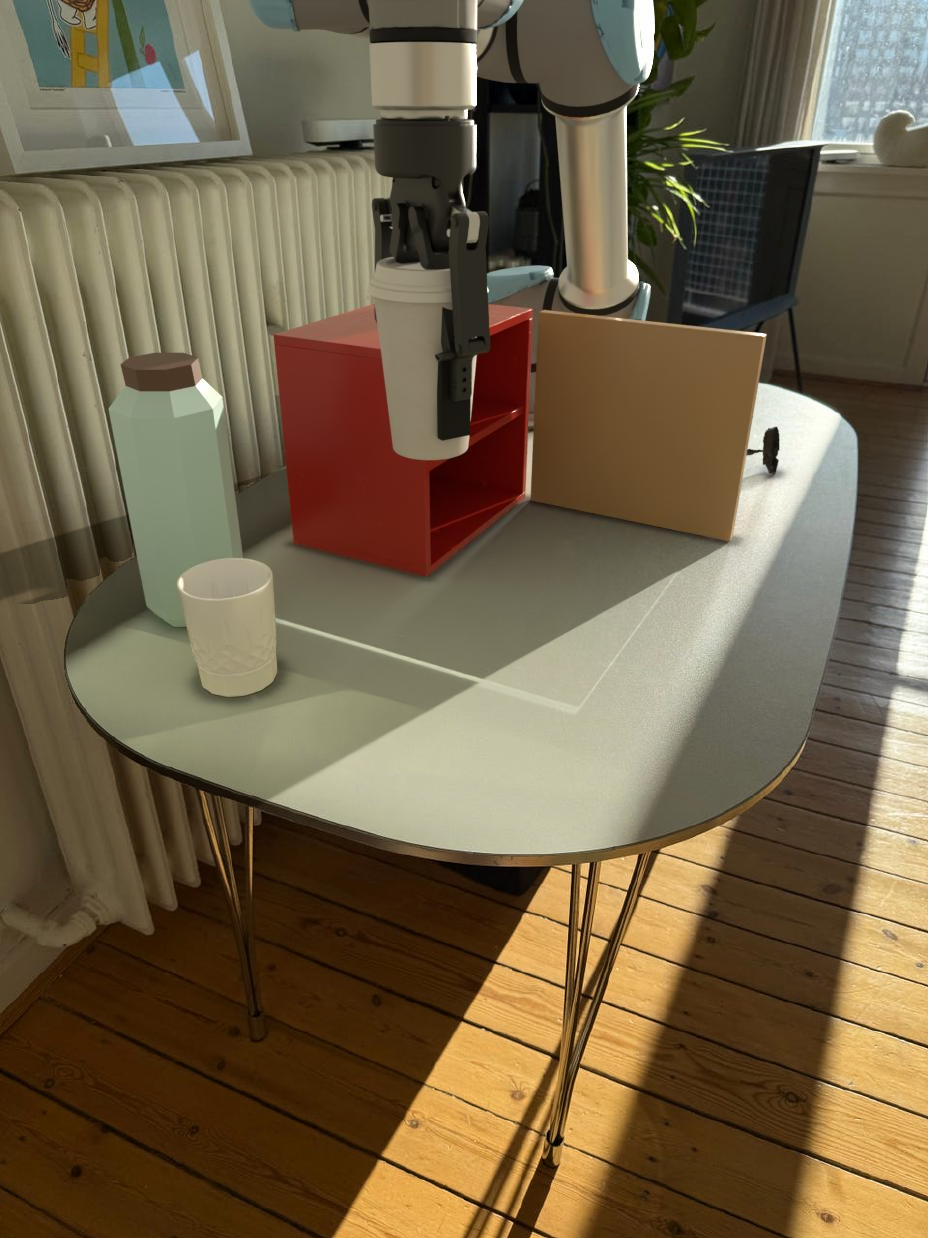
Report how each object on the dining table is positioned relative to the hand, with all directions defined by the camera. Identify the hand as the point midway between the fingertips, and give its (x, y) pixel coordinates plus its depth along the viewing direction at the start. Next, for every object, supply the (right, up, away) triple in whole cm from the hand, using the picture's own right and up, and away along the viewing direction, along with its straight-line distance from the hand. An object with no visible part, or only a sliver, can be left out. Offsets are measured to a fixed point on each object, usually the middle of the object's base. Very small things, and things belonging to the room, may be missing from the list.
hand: (430, 423), depth 77 cm
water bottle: (-24, -16, +16) cm, 33 cm away
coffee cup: (0, -2, +1) cm, 2 cm away
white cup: (-17, -22, +5) cm, 28 cm away
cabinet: (-3, -4, +35) cm, 36 cm away
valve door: (+25, -3, +38) cm, 46 cm away
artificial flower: (+36, +5, +53) cm, 64 cm away
